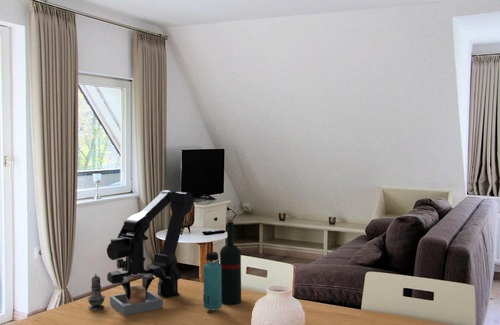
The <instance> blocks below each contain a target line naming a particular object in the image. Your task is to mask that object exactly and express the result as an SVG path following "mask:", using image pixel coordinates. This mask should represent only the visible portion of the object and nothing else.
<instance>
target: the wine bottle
mask: <svg viewBox="0 0 500 325" xmlns="http://www.w3.org/2000/svg"><path fill="white" fill-rule="evenodd" d="M226 222H227V223H226V224H227V226H226V227H227V228H226V232H227V236H226V239H227V240H226V241H227V244H225V245H224V246H223V247H222V248H221V249H220V251H219V264H220V265H221V266H222V267H221V284H222V305H225V306H232V305H239V304H241V303H242V265H241V264H242V255H241V254H242V252H241V250H240V248H239V247H238V246H237V245H235V244H234V218H232V217H231V218H230V217H228V218H227V221H226Z"/></svg>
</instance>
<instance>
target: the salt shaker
mask: <svg viewBox="0 0 500 325" xmlns="http://www.w3.org/2000/svg"><path fill="white" fill-rule="evenodd" d="M101 288H102V285H101V277H100V276H98V274H97V273H95V274H94V276H92V278H91V286H90V289H91V294H90V296H88V297H87V301H88V303H89V305H90V306H89V307H88V310H90V311H101V310H103V309H105V306H104V305H103V303H104V301H105V298H106V296H105V295H103V294H102V292H101V290H102V289H101Z"/></svg>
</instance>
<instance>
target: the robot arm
mask: <svg viewBox="0 0 500 325" xmlns="http://www.w3.org/2000/svg"><path fill="white" fill-rule="evenodd" d="M194 199H195V198H194V196H193V195H192V193H191V192H185V191H173V190H167V189H166V190H165V189H163V190H161V191H159V194H158V195H157V196H156V197H155V198H154V199H153V200H151V202H150V203H149V204H147V205H146V206H145V207H144V208H143V209H142V210H141V211H140V212H136V213H134V214H132V215H131V216H129V217H128V218H126V219H125V220H124V222H123V225H122V227H121V229H120V231H119V233H118V235H117V237H116V238H112V239H110V243H109V244H108V245H107V248H106V254H107V257H108V258H109V259H110V260H111V261H115V260H116V268H117V269H118V270H115V271H108V273H107V274H106V281H108V282H109V283H110V284H112V285H113V284H114V285H115V284H119V285H120V286H122V288H123V291H124V293H126V296H127V298H128V300H130V286H131V281H130V280H129V279H130V278H136V277H141V281H142V282H141V286H143V287H144V288H145V293H146V292H147V290H149V287H150V285H151V284H152V282H153V281H154V280H155V279H156V278H157V279H158V282H157V292H156V293H157V295H158V296H161V297H162V298H170V297H176V296H180V292H179V291H178V290H179V283H178V281H179V280H180V279H181V278H182V274H183V272H182V271H181V270H180V269H179V268H178V267H177V265H178V259H177V255H176V251H177V247H178V243H179V240H180V235H181V233H182V228H183V224H184V221H185V216H186V215H187V214H189V212H190V211H191V209H192V208H193V204H194ZM167 206H169V207H170V210H171V216H170V220H169V224H168V227H167V229H166V235H165V239H164V242H163V246H162V249H161V251H160V252H159V253H155V254H154V256H153V261H152V263H151V265H148V266H147V268H145V261H146V257H145V254H144V253H145V248H144V247H145V246H144V244H145V243H144V241H146V240H149V237H148V236H147V235H146V234H145V233H146V232H147V231H148V229H149V228H150V226H151V222H152V221H153V220H154V219H155V218H156V217H157V216H158V215H159V214H160V213H161V212H162V211H163V210H164V209H165V208H166V207H167ZM123 258H125V260H124V259H123ZM119 269H120V270H121V269H122V272H121V271H119Z"/></svg>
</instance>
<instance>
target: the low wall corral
mask: <svg viewBox="0 0 500 325" xmlns="http://www.w3.org/2000/svg"><path fill="white" fill-rule="evenodd" d="M163 301H164V300H163V298H161V297H159V295H158V294H155V293H153V292H152V291H150V290H149V289H148V290H147V292H146V302H142V303H137V304H130V303H129V302H127V296H126V293H125V292H124V293H120V294H114V295H109V304H110V306H111V307H112V308H114V309H115V310H116V311H117V312H119V313H120V314H121V315H122V316H124V317H125V316H129V315H135V314H139V313H145V312H149V311H154V310H160V309H163V308H164V302H163Z"/></svg>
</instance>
